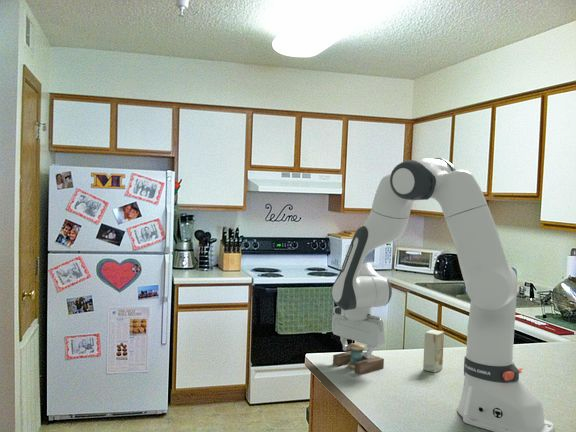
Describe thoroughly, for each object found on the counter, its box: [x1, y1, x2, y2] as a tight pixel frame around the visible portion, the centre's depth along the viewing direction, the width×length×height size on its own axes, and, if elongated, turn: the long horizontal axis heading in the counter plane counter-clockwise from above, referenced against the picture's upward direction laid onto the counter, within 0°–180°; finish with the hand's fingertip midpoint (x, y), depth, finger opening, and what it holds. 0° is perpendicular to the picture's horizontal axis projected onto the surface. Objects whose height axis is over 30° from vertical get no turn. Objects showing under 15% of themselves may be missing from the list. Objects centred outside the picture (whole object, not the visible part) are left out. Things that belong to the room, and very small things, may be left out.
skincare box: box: [422, 329, 445, 373], centre depth 170 cm, size 6×4×12 cm
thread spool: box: [347, 342, 366, 370], centre depth 170 cm, size 5×5×7 cm
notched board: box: [332, 350, 385, 375], centre depth 171 cm, size 12×11×3 cm
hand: (356, 354), depth 170 cm, fingers open, 8 cm apart
